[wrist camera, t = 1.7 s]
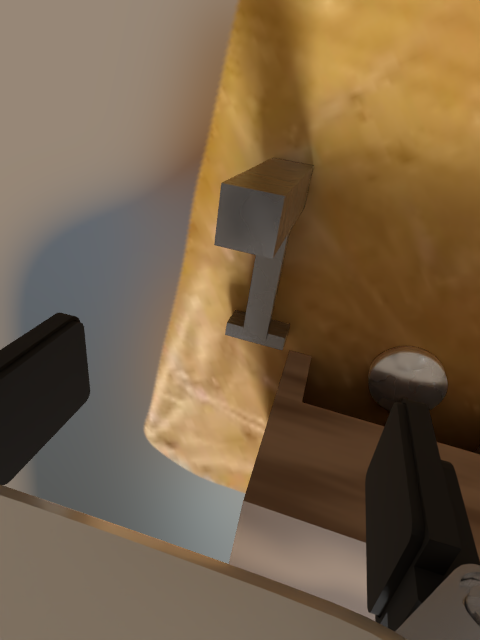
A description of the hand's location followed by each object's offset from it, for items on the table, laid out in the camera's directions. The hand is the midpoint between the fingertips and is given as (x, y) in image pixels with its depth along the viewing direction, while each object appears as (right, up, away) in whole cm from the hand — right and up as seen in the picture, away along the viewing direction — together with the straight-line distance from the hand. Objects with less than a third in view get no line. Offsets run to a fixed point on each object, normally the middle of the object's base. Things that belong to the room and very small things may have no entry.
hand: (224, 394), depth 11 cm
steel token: (+15, -2, +22) cm, 27 cm away
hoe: (+3, +7, +20) cm, 22 cm away
